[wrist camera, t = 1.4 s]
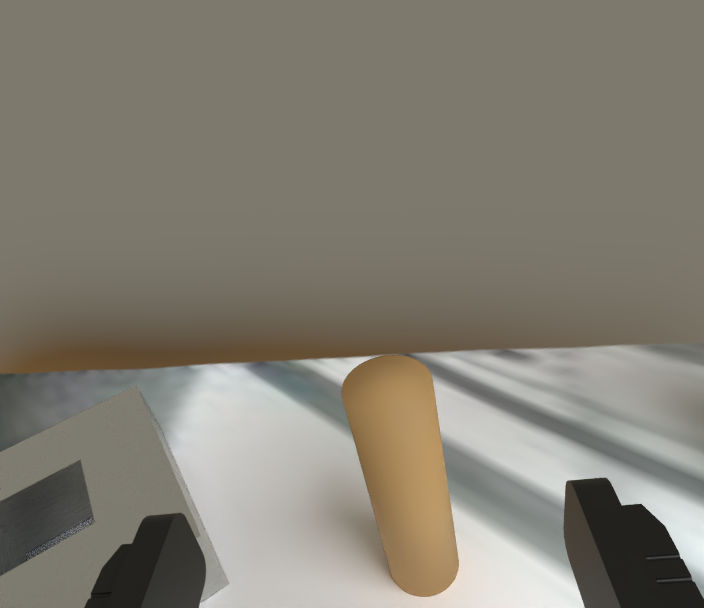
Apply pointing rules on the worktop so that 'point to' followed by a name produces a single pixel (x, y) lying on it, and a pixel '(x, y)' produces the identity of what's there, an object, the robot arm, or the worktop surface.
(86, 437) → the grey flat block
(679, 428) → the worktop surface
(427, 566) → the pin
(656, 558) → the robot arm
